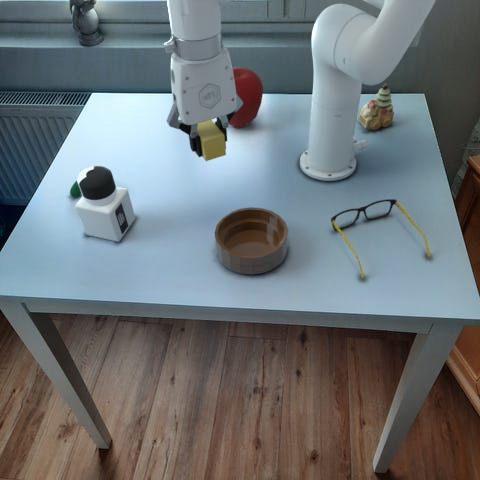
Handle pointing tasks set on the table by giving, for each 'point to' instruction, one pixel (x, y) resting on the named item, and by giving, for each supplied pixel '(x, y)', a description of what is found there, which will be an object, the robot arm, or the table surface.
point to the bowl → (251, 240)
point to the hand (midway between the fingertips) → (209, 148)
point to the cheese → (211, 140)
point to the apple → (246, 96)
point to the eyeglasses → (392, 202)
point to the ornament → (377, 111)
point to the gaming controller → (75, 190)
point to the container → (103, 204)
